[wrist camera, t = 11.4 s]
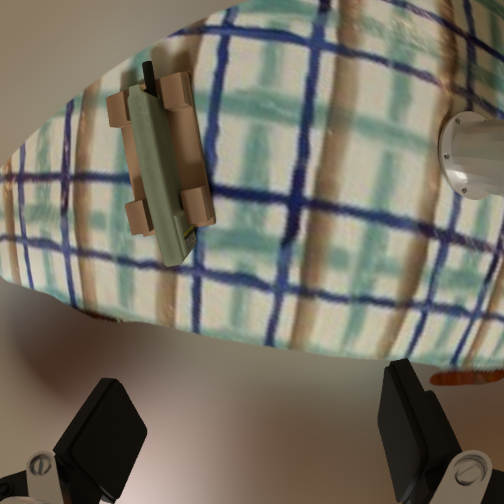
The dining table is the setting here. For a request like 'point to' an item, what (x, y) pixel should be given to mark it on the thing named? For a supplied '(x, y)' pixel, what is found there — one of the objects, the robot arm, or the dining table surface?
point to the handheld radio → (159, 170)
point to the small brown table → (185, 148)
